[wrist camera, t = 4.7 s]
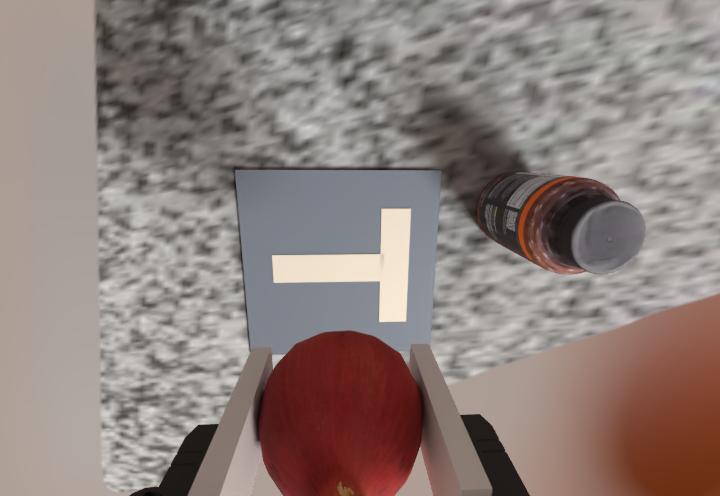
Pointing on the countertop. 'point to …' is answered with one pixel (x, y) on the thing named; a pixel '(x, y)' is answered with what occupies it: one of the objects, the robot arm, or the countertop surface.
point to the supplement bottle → (561, 222)
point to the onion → (340, 418)
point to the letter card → (338, 254)
